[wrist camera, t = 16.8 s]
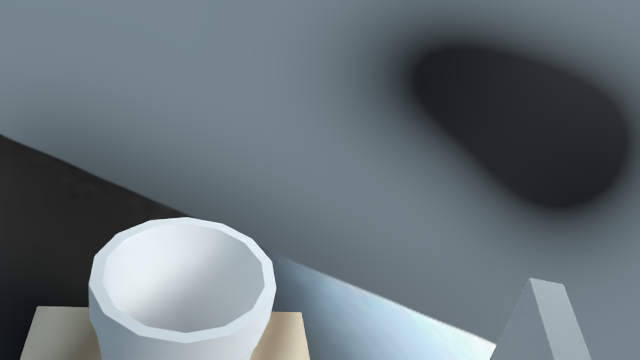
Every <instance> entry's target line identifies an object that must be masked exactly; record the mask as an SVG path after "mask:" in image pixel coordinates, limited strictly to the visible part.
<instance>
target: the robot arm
mask: <svg viewBox="0 0 640 360" xmlns="http://www.w3.org/2000/svg"><path fill="white" fill-rule="evenodd" d="M490 360H591V358H590V355H589V352H588V349H587V347H586V344H585V341H584V339H583V336H582V333H581V331H580V328H579V325H578V323H577V320H576V317H575V315H574V312H573V309H572V307H571V304H570V301H569V299H568V296H567V293H566V290H565V288H564V285H563V284H558V283H553V282H548V281H543V280H538V279H533V278H529V280H528V282H527V284H526V286H525V288H524V290H523V292H522V294H521V296H520V299H519V300H518V303H517V305H516V307H515V309H514V311H513V313H512V315H511V317H510V319H509V321H508V323H507V325H506V327H505V329H504V332H503V333H502V336H501V338H500V340H499V342H498V344H497V346H496V348H495V350H494V352H493V354H492V356H491V358H490Z"/></svg>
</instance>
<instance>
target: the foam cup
mask: <svg viewBox="0 0 640 360" xmlns="http://www.w3.org/2000/svg"><path fill="white" fill-rule="evenodd" d="M275 291H276V284H275V278H274V272H273V266H272V261H271V260H270V259H269V258H268V257H267V256H266V254H265V253H264V252H263V251H262V250H261V249H260V247H259V246H258V245H257V244H256V243H255V242H254V241H253V239H251V238H249V237H247V236H245V235H243V234H241V233H239V232H237V231H235V230H233V229H232V228H230V227H228V226H226V225H224V224H220V223H215V222H210V221H204V220H199V219H193V218H188V217H185V218H174V219H162V220H150V221H148V222H145V223H143V224H140V225H138V226H135V227H133V228H130V229H128V230H125V231H123V232H120V233H118V234H117V235H115V236H114V237H113V238H112V239H111V240H110V241H109V242H108V243H107V244H106V245H105V246H104V247H103V248H102V249H101V250H100V251H99V252H98V253H97V254H96V255H95V257H94V262H93V267H92V271H91V276H90V281H89V319H90V321H91V323H92V325H93V327H94V329H95V331H96V333H97V338H98V343H99V348H100V353H101V357H102V360H250V357H251V355H252V352H253V350H254V348H255V347H256V346H257V344H258V342H259V340H260V338H261V336H262V334H263V332H264V330H265V328H266V325H267V323H268V321H269V319H270V315H271V310H272V305H273V301H274V296H275Z"/></svg>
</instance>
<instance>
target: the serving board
mask: <svg viewBox="0 0 640 360" xmlns="http://www.w3.org/2000/svg"><path fill="white" fill-rule="evenodd" d="M20 360H102V357H101V353H100V348H99V343H98V338H97V333H96V331H95V329H94V327H93V325H92V323H91V321H90V319H89V307H48V306H37V309H36V312H35V315H34V318H33V321H32V324H31V327H30V330H29V334H28V337H27V340H26V343H25V346H24V349H23V352H22V355H21V358H20ZM250 360H310V357H309V352H308V347H307V341H306V336H305V330H304V325H303V320H302V314H301V313H300V312H271V315H270V319H269V321H268V323H267V325H266V328H265V330H264V332H263V334H262V336H261V338H260V340H259V342H258V344H257V346H256V347H255V348H254V350H253V352H252V355H251V357H250Z"/></svg>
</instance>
